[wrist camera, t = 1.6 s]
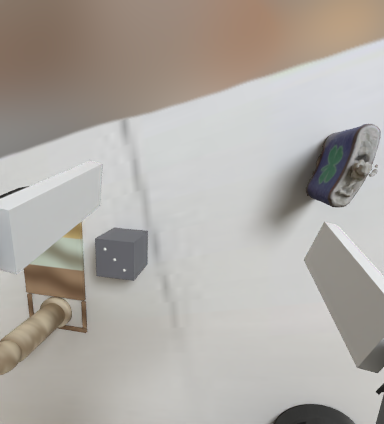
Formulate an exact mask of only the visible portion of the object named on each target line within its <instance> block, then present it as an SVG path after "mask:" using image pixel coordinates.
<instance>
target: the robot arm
mask: <svg viewBox="0 0 384 424" xmlns="http://www.w3.org/2000/svg"><path fill="white" fill-rule="evenodd" d="M102 168H103V164H102V163H98V162H94V161H88V162H85V163H83V164H81V165H78V166H76V167H74V168H71V169H69V170H67V171H64V172H62V173H60V174H57V175H55V176H53V177H50V178H48V179H45V180H43V181H41V182H38V183H36V184H34V185H31V186H27V187H22V188H18V189H15V190H13V191H10V192H8V194H7V193H6V194H3V195H1V196H0V270H2V271H6V272H10V273H13V274H18V273H19V272H20V271H22V270H23V269H24V268H25V267H26V266H28V265H29V264H30V263H31V262H32V261H34V260H35V259H36V258H37V257H39V256H40V255H41V254H42V253H43V252H45V251H46V250H47V249H48V248H50V247H51V246H52V245H53V244H54V243H56V242H57V241H58V240H59V239H61V238H62V237H63V236H64V235H65V234H67V233H68V232H69V231H70V230H71V229H73V228H74V227H75V226H76V225H78V224H79V223H80V222H81V221H82V220H84V219H85V218H86V217H87V216H89V215H90V214H91V213H92V212H93V211H95V210H96V209H97V208H98V207H99V206H100V201H101V185H102ZM304 261H305V263H306V265H307V267H308V269H309V271H310V273H311V275H312V277H313V279H314V281H315V284H316V286H317V288H318V290H319V292H320V294H321V296H322V298H323V300H324V302H325V304H326V306H327V308H328V310H329V312H330V314H331V316H332V318H333V320H334V322H335V324H336V326H337V328H338V330H339V332H340V334H341V336H342V338H343V340H344V342H345V344H346V346H347V348H348V350H349V352H350V354H351V356H352V358H353V360H354V362H355V364H356V366H357V368H360V369H364V370H368V371H371V372H375V373H378V372H379V371H380V370H381V369H382V368H383V367H384V276H383V274H382V273H381V272H380V271H379V270H378V269H377V268H376V267H375V266H374V265H373V263H372V262H371V261H370V260H369V259H368V258H367V257H366V256H365V255H364V254H363V252H362V251H361V250H360V249H359V248H358V247H357V246H356V245H355V244H354V243H353V241H352V240H351V239H350V238H349V237H348V236H347V235H346V234H345V233H344V232H343V231H342V229H341V228H340V227H339V226H338V225H335V224H331V223H327V222H324V224H323V225H322V227H321V229H320V231H319V233H318V235H317V237H316V238H315V240H314V242H313V244H312V246H311V248H310V249H309V251H308V253H307V255H306V257H305V259H304ZM381 392H384V384H383V385H382V386H381V387H380V388H379V389H378V390H377V391H376V393H378V394H380V393H381ZM274 424H355V423H354V422H353V421H352V420H351V419H350V418H349V417H347V416H346V415H345V414H343V413H341V412H340V411H338V410H335V409H333V408H330V407H326V406H322V405H302V406H297V407H294V408H291V409H289V410H287V411H286V412H284V413H283V414H282V415H280V416H279V417H278V419H277V420H276V422H275V423H274ZM376 424H384V395H383V399H382V403H381V407H380V410H379V414H378V418H377V421H376Z"/></svg>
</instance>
